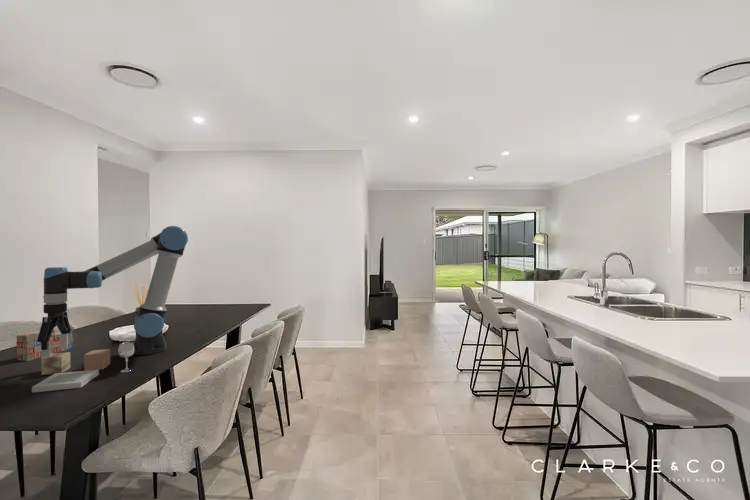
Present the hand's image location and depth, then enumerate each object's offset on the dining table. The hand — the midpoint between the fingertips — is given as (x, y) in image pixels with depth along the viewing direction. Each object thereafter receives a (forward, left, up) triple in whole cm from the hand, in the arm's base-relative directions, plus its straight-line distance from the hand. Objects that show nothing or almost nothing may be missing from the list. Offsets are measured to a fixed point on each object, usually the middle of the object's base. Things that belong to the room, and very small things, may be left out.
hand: (54, 352), depth 153 cm
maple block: (0, 0, -8) cm, 8 cm away
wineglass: (-29, +9, -8) cm, 32 cm away
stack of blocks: (+19, -33, -8) cm, 38 cm away
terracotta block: (-15, 0, -8) cm, 17 cm away
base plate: (-12, +18, -8) cm, 23 cm away
